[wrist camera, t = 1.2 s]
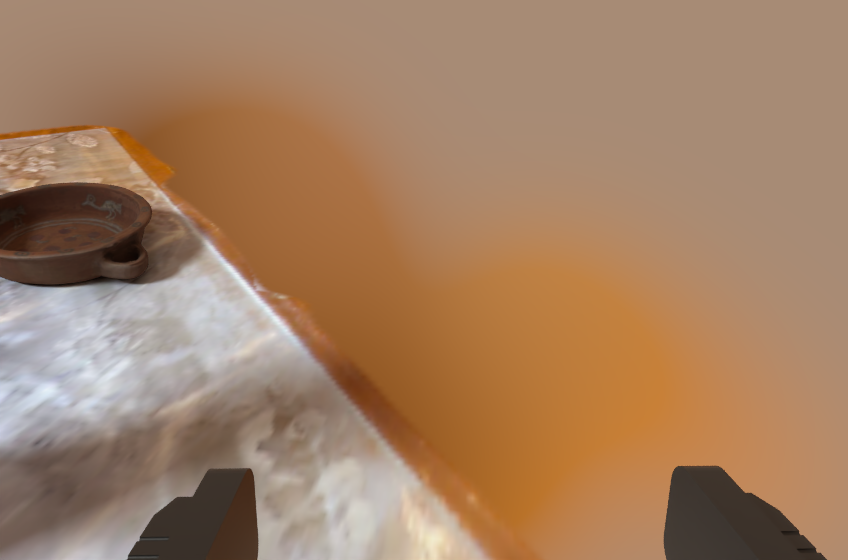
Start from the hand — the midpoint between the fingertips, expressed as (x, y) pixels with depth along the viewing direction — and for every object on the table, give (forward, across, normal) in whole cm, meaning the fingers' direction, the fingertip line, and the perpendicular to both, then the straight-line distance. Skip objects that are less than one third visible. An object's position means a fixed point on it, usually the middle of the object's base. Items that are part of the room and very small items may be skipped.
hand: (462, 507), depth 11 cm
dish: (+54, +38, +7) cm, 66 cm away
